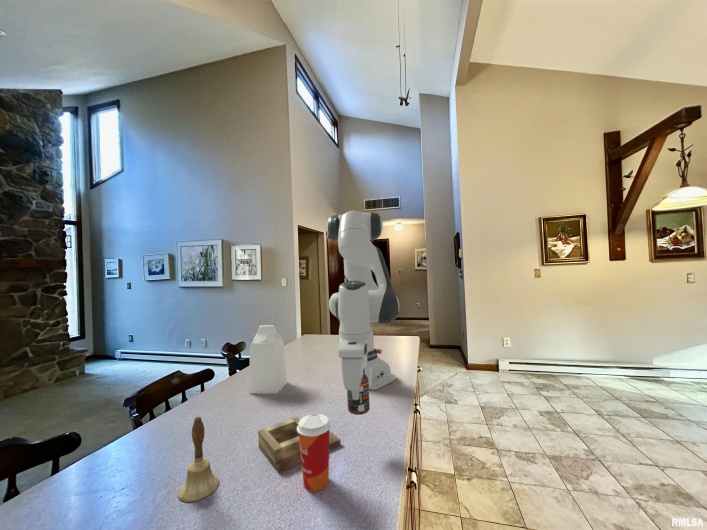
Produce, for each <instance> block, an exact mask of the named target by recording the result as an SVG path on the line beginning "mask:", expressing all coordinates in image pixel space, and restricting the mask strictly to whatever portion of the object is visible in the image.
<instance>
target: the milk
mask: <svg viewBox="0 0 707 530" xmlns="http://www.w3.org/2000/svg"><path fill="white" fill-rule="evenodd" d="M284 344H285V343H284V340H283V338H282V337H281V335H280V334H279V332H278V331H277V329H276V327H275V326H274V325H271V324H270V325H269V324H268V325H259V326H258V329H257V331H256V334H255V335H254V337H253V340H252V341H251V343H250V346H249V375H248V376H249V377H248V379H249V380H248V381H249V383H248V394H279V393H280V392H281V391H282V389H283V388H284V387H285V386H286V385H287V384H288V378H287V377H288V376H287V367H286V366H287V365H286V356H285V347H284V346H285V345H284ZM284 385H285V386H284ZM283 386H284V387H283ZM279 391H280V392H279Z"/></svg>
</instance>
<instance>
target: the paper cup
mask: <svg viewBox="0 0 707 530" xmlns="http://www.w3.org/2000/svg"><path fill="white" fill-rule="evenodd" d="M300 419H301V420H300V421H299V424H298V426H297V432H298V433H299V443H300V453H301V463H300V464H301V472H302V480H303V481H302V482H303V487H304V489H305V490H306V491H309V492H311V493H312V492H313V493H316V492H319V491H323V490H324V489H325V488H326V487H327V486H328V483H329V477H330V476H329V474H330V471H329V470H330V468H329V467H330V450H329V431H330V429H331V425H332V424H331V422H330V420H329V418H328V416H326V414H325V415H324V414H321V413H319V414H311V415H310V414H308V415H305V416H303V417H301V418H300Z"/></svg>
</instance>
